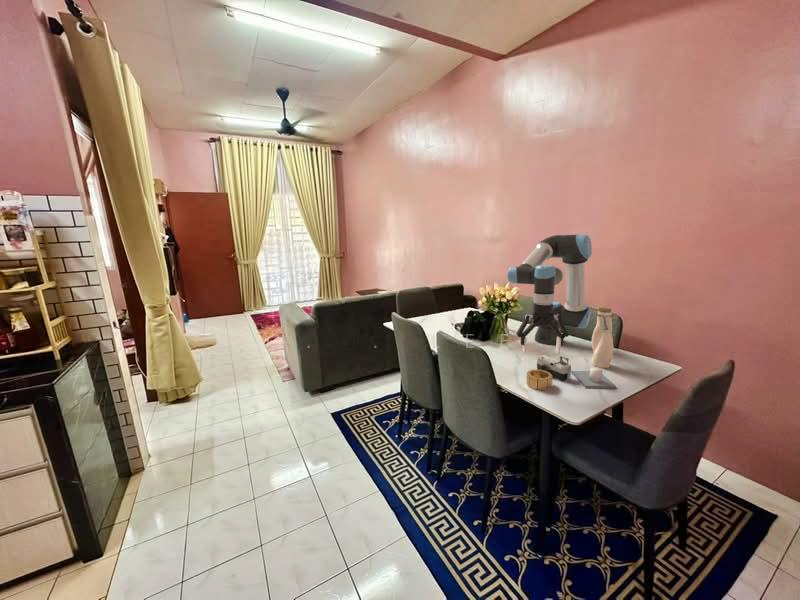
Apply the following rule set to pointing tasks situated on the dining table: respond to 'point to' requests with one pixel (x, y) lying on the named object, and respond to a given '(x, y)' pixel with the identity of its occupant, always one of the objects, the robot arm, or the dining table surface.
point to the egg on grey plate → (593, 379)
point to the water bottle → (603, 339)
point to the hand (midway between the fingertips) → (541, 352)
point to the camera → (555, 367)
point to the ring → (539, 379)
